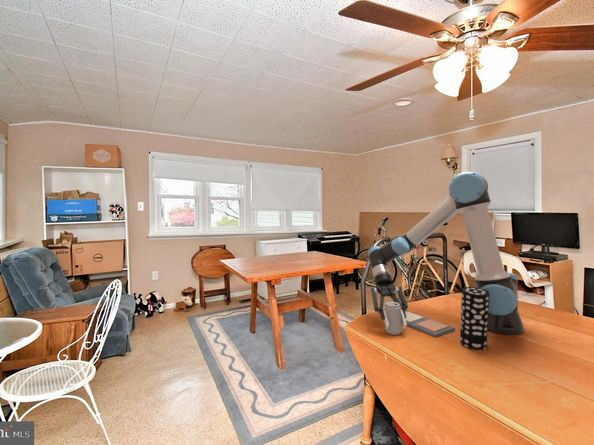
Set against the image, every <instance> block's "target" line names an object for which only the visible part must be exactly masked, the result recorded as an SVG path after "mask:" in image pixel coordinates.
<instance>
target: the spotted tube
mask: <svg viewBox="0 0 594 445" xmlns="http://www.w3.org/2000/svg"><path fill="white" fill-rule="evenodd" d="M460 305H461V306H460V334H459V335H460V337H459V338H460V340H459V342H460V344H461V345H462V346H464V347H465V348H468V349H471V350H476V351H483V350H486V349H487V347H488V331H489V330H488V312H489V292H488V291H487V290H485V289H481V288H477V287H475V286H466V287H463V288H461V304H460Z"/></svg>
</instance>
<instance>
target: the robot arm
mask: <svg viewBox="0 0 594 445" xmlns="http://www.w3.org/2000/svg"><path fill="white" fill-rule="evenodd" d="M488 190H489V184H488V181H487V180H486V178H484V176H482V175H481V174H479V173H478V172H476V171H475V172H474V171H464V172H461V173H458V174H456V175H455V176H454V177H453V178H452V179H451V180H450V182H449V186H448V191H449V193H448V197H446V199H445V200H444V201H442V202H441V203H440V204H438V206H437V207H435V208H434V209H433V210H432V211H431V212H430V213H429V214H427V215H426V216H425V217H424V218H423V219H421V220H420V221H419V222H418V223H417V224H416V225H414V226H413V227H412V228H411V229H410V230H409V231H407V232H405V233H404V235H403V236H399V237H397V238H394V239H392V241H390V242H388V243H387V244H385V245H384V246H381V245H375V246H372V247H370V248H369V249H368V251H367V255H368V262H369V263H370V269H371V271H372V276H373V279H374V284H375V287H371V289H370V290H369V291H370V294H371V297H372V304H373V310H374V312H377V313H378V314H379V316H380V319H381V320H383V322H384V325H385V326H386V328H388V327H389V322H388V319H387V315H386V311H385V309H384V306H385V305H384V304H385V303H384V302H385V297H390V298H391V300H392V302H397V303H399V304H400V307H401V322H402V323H401V325H402V327H403V328H402V329H404V328H406V327H407V324H406V320H405V319H406V313H405V311H408V308H409V305H408V302H407V300H406V298H405V296H404V293H403V287H402V286H399V287H397V286H395V283H394V281H393V278H392V276H391V275H392V274H391V272H390V268H389V265H388V264H389V263H391V262H392V261H393V260H395V259H398V258H399V257H401V256H403V255H406V254H409V253H411V252H412V251H414V249H415V248H416V247H418V245H419V244H421V243H422V242H424V241H425V240H426V239H427V238H428V237H430V236H431V235H433V233H435V232H436V231H437V230H438V229H439V228H441V227H442V226H443V225H444V224H446V223H447V222H448V221H450V220H451V219H452V218H454V216H456V215H458V213H460V214H461V216H462V218H463V219H462V220H463V223H464V226H465V231H466V234H467V238H468V242H469V246H470V248H471V249H470V250H471V253H472V257H473V261H474V265H475V268H476V273H477V274H476V275H475V276H474V283H475V286H476V288H481V289H485V290H487V291H488V292H489V312H488V331H490V332H493V333H496V334H502V335H520V334H523V333H524V330H525V329H524V328H525V325H524V323H523V321H522V318H521V315H520V312H519V305H518V304H519V302H518V299H519V294H518V292H519V290H518V282H519V280H518V275H517V274H516V273H512V272H508V271H506V270H505V267H504V265H503V261H502V258H501V254H500V250H499V246H498V242H497V238H496V235H495V231H494V228H493V224H492V220H491V217H490V212H489V210H488V208H489V206H490V204H491V203H492V202H491V198H490V194H489V191H488ZM377 293H378V294H379V297H380V298H379V303H378V297H377ZM396 293H397V295H398V297H397V295H396ZM385 326H384V327H385Z"/></svg>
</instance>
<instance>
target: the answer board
mask: <svg viewBox="0 0 594 445" xmlns="http://www.w3.org/2000/svg"><path fill="white" fill-rule="evenodd" d="M405 313H406V319H405V320H406V324H407V325H406V327H409V328H410V329H411V328H412V329H415V330H417V331H420V332H421V333H424V334H426V335H428V336H431V337H433V338H438V337H440V336H443V335H446V334H449V333H453V332H455V331H456V330H455V329H456V328H455V327H454V326H452V325H450V324H445V323H444V322H441V321H438V320H435V319H431V318H429V317H426V316H423V315H420V314H417V313H414V312H411V311H409V310H405ZM401 324H402V322H401Z"/></svg>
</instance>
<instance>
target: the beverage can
mask: <svg viewBox="0 0 594 445" xmlns="http://www.w3.org/2000/svg"><path fill="white" fill-rule="evenodd" d="M384 304H385V305H384V310H385V311H386V315H387V319H388V322H389V327H388V328H386V326H384V327H385V329H384V330H385V332H387V333H388V334H389V335H393V336H398V335H400V334H401V333H402V331H403V328H402V327H403V325H402V323H401V307H400V304H399V303H397V302H394V301H387V302H385V303H384Z"/></svg>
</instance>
